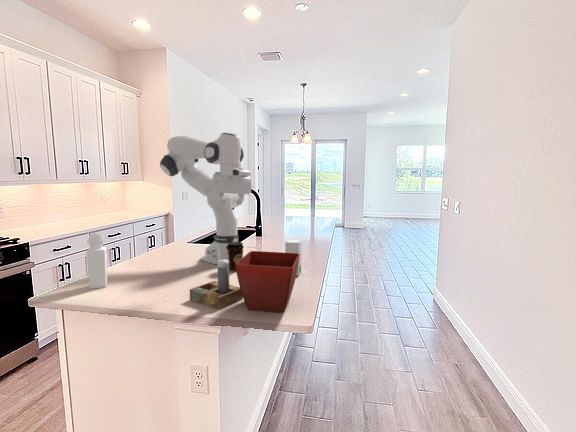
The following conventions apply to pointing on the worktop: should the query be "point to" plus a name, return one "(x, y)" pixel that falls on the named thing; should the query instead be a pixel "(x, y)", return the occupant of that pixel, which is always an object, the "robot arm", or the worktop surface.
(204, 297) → the socket deck
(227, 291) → the grey cylinder
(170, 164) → the robot arm
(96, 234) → the white bottle
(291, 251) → the skincare box
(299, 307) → the worktop surface
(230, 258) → the coffee cup
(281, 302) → the plant pot
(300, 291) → the worktop surface
